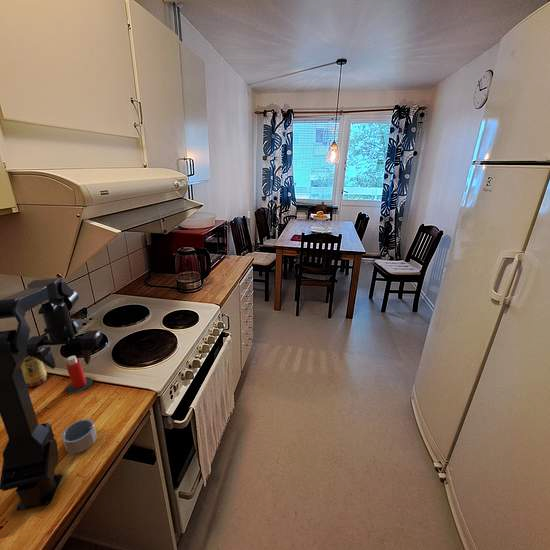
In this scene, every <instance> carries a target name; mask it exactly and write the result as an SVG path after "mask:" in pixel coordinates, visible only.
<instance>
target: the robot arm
mask: <svg viewBox="0 0 550 550" xmlns="http://www.w3.org/2000/svg"><path fill="white" fill-rule="evenodd" d="M79 298H80V297H79V294H78V292H76V290H74V289H72V288H71V287H70V286H69V284H68V283H67V282H66V281H63V278H61V277H54V278H42V279H32V280H31V281H30V282H28V283H27V285H26V288H25V289H23V290H20V291H18V292H15V293H12V294H10V295H7V296H6V297H3V298H0V320H1V319H2V320H3V319H11V318H15V319H16V321H17V327H16V329H9V330H0V418H1V421H2V424H3V426H4V429H5V432H6V435H7V437H8V441H7V443H6V445H5V447H4V449H3V450H2V466H1V472H0V473H1V474H0V490H1V491H3V492H8V490H12V489H15V493H16V494H17V497H18V498H19V500H20V501H19V503H18V505H17V506H16V509H15V510H16V511H17V512H20V511H25V510H29V509H30V510H31V509H35V508H39V507H45V506H49V505H50V504H51V503H52V501H53V499H54V497H55V495H56V492H57V490H58V488H59V486H60V484H61V481H62V479H63V477H64V476H63V474H56V473H55V471H56V468H57V467H58V464H59V461H60V459H59V458H60V457H59V449H58V442H57V440H56V439H55V434H54V432H53V429H52V424H51V423H49V422H44V423H39V422H38V419H37V415H36V412H35V408H34V406H33V403H32V399H31V396H30V393H29V390H28V389H29V388H28V387H27V386H26V383H25V379H24V376H23V373H22V370H21V365H22V363H23V361H24V359H25V357H26V355H29V356H30V357H34V358H36V359H38V360H40V361H42V362H43V363H44V365H46V366H48V367H49V368H51V369H55V368H56V362H55V359H54V356H53V353H52V350H51V349H52V347H59V346H66V345H76V344H79V345H80V348H81V349H80V352H81V355H82V358H83V360H84V363H85V365H89V364H90V362H91V356H92V351H93V350H94V349H95V348H97V347H98V346H99V344H100V343H101V341H102V340H103V338H104V335H103V332H102V331H101V330H99V329H96V330H87V331H85V332H84V333H83V335H79V336H76V335H78V334H79V333H80V331H79V330H83V319H82V318H76V319H75V318H73V317H70V313H69V312H70V311H72V309H73V307H74V306H75V305H76V304H77V303H78V301H79ZM39 305H41V306H40V307H39V309H38V311H37V314H38V315H41V316H42V318H43V321H44V325H45V328H44V329H43V332H44V335H34V336H30V339H29V340H28V338H29V335H30V334H31V327H30V326H29V324H28V322H27V320H26V318H25V317H26V313H27V312H28V311H30V310H32V309H34V308H36V307H38V306H39ZM46 334H48V335H46Z"/></svg>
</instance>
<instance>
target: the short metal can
mask: <svg viewBox="0 0 550 550" xmlns="http://www.w3.org/2000/svg"><path fill="white" fill-rule="evenodd" d="M97 438H98V433H97V430H96V427H95V424H94V421H93V420H91V419H88V418H83V419H78V420H77V421H75V422H73V423H71V424H70V425H68V426H67V427H65V429H64V431H63V432H62V434H61V440H62V443H63V445H64V449H65V451H66V452H67V453H68V454H72V455H75V454H80V453H82V452H85V451H86V450H89V448H91V447H92V446H93V445H94V443H95V442H96V440H97Z"/></svg>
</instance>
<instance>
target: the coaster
mask: <svg viewBox="0 0 550 550" xmlns="http://www.w3.org/2000/svg"><path fill="white" fill-rule="evenodd" d="M85 379H86V385H85V386H83V387H81V388H78V389H75V388H73V386H72V382H70V383H69V384H68V385H67V388H66V390H67V392H68V393H73V394H74V393H79V392H82V391H86V390H87V389H89V388H90V387H91V386H92V384H93V379H92V378H91V377H89V376H88V377H87V376H85Z"/></svg>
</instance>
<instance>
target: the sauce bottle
mask: <svg viewBox="0 0 550 550" xmlns="http://www.w3.org/2000/svg"><path fill="white" fill-rule="evenodd" d="M30 338H31V335H30V334H29V338H28V340H29V339H30ZM21 370H22V373H23V376H24V379H25V383H26V386H27V388H33V387H36V386H39V385H41V384H43V383H44V382H45V381H47V378H48V375H47V374H48V373H47V370H46V367H45V363H43V362H42V361H40V360H38V359H36V358H34V357H30V356H29V355H26V357H25V359H24V361H23V363H22V365H21Z"/></svg>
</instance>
